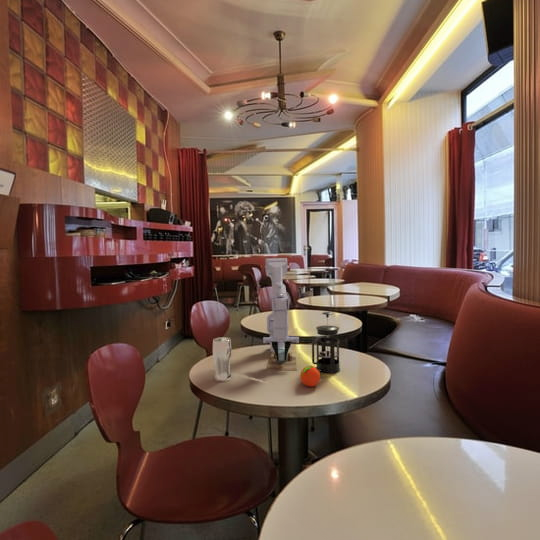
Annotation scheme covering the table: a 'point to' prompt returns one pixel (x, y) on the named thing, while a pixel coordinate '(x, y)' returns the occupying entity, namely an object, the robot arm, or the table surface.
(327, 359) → the french press
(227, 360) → the beer glass
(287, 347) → the robot arm
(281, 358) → the grey block
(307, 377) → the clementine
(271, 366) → the cradle
